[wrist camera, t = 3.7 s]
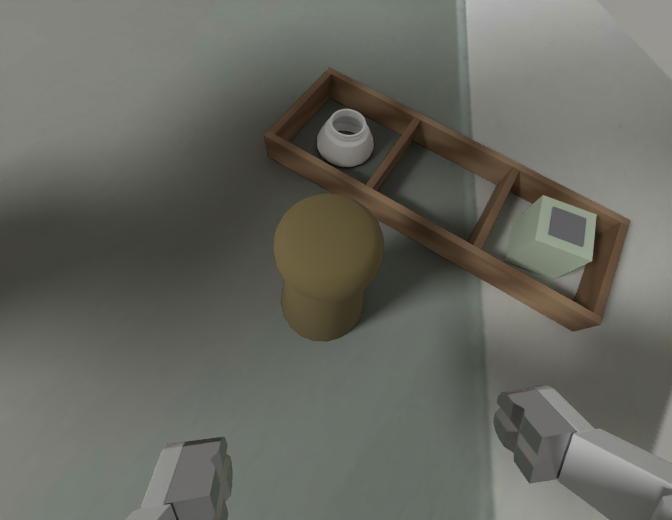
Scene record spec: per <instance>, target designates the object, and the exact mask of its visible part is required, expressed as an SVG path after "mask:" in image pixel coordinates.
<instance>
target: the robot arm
mask: <svg viewBox="0 0 672 520" xmlns="http://www.w3.org/2000/svg"><path fill="white" fill-rule="evenodd" d="M497 403H498V405H499V406H500V408H499V409H498V410H497V412H496V413H495V415H494V426H495V431H496V433H497V435H498V438H499V439H500V441H501V443H502V444H503V446H504V447H505V448H507V449H509V450H510V451H512V452H513V453H514V462H515V463H516V465H517V466H518V468H519V469H520V471H521V472H522V473H523V475H524V476H525V478H526V479H527V481H528V482H529V484H530V483H536V482H542V481H549V480H555V479H558V481H559V482H560V483H561V484H563V485H564V486H566V487H567V488H568V489H570V490H571V491H572V492H574V493H575V494H576V495H578V496H579V497H580V498H582V499H583V500H584V501H586V502H587V503H588V504H590V505H591V506H592V507H594V508H595V509H596V510H598V511H599V512H600V513H602V514H603V515H604V516H606V517H607V518H608V519H610V520H672V463H670V462H668V461H666V460H664V459H662V458H659V457H657V456H655V455H653V454H651V453H649V452H647V451H645V450H643V449H641V448H639V447H637V446H635V445H633V444H631V443H629V442H627V441H625V440H623V439H621V438H619V437H617V436H615V435H612V434H610V433H608V432H606V431H604V430H602V429H595V428H594V427H593V426H592V425H591V424H590V423H588V422H587V421H586V420H585V419H584V418H583V417H582V416H581V415H580V414H579V413H578V412H577V411H576V410H575V409H574V408H573V407H572V406H571V405H570V404H569V403H568V402H567V401H566V400H565V399H564V398H563V397H562V396H561V395H560V394H559V393H558V392H557V391H556V390H555V389H554V388H552V387H550V386H548V385H547V386H540V387H534V388H526V389H520V390H515V391H509V392H503V393H501V394H500V395H499V396H498V399H497ZM226 451H227V442H226V439H225V437H217V438H210V439H202V440H194V441H186V442H180V443H173V444H167V445H166V446H165V447H164V449H163V450H162V452H161V455H160V458H159V460H158V463H157V466H156V468H155V471H154V474H153V476H152V479H151V482H150V484H149V487H148V490H147V492H146V495H145V498H144V500H143V503H142V506H141V508H140V509H138V510H134V511H133V512H132V513H131V514H130V515H129V516H128V517H127V518H126V519H125V520H227V518H228V510H227V507H226V503H225V502H226V501H227V499H228V498H229V497H230V495H231V489H232V474H233V471H232V462H231V458H230V456H229V455H227V454H226Z"/></svg>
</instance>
